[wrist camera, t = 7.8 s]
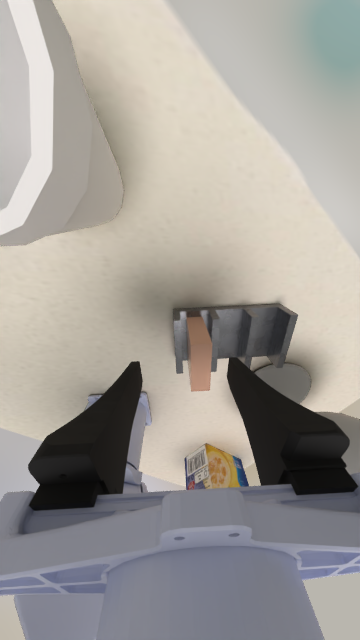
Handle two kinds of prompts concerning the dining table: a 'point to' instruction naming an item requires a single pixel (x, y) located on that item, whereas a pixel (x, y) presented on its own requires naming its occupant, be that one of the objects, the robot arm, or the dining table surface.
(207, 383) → the tan wooden block
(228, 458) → the beverage box
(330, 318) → the dining table surface
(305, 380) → the chalice
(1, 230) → the foam cup
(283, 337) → the dish rack
